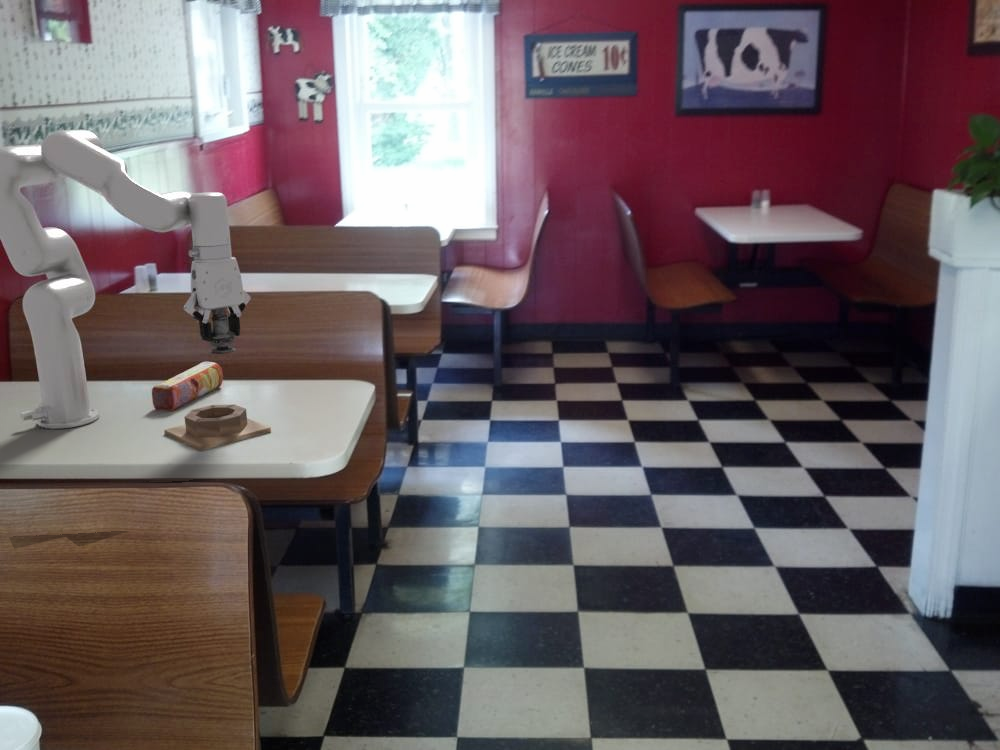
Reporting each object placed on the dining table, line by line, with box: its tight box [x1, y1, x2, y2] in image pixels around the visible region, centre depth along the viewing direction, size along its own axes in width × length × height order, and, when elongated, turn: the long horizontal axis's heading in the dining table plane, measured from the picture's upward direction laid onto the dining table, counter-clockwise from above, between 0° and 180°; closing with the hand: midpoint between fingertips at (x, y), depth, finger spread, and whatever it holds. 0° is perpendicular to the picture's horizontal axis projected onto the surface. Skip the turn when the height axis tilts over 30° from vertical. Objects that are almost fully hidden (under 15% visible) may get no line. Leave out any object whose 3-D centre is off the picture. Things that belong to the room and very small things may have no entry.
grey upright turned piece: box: [209, 307, 236, 355], centre depth 215 cm, size 6×6×12 cm
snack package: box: [151, 361, 224, 412], centre depth 240 cm, size 21×7×7 cm, turn 163°
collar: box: [163, 404, 272, 452], centre depth 214 cm, size 16×16×4 cm
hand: (221, 336), depth 215 cm, fingers closed on grey upright turned piece, 5 cm apart
